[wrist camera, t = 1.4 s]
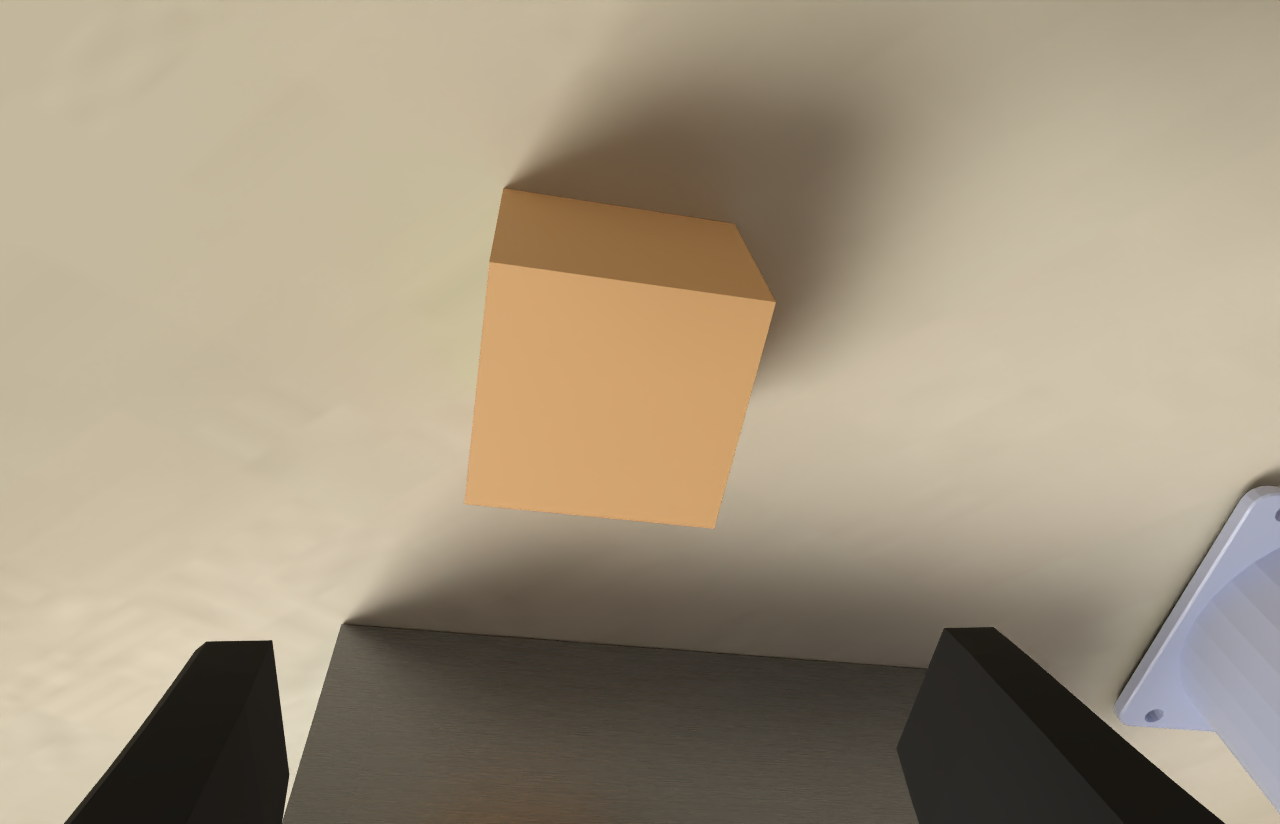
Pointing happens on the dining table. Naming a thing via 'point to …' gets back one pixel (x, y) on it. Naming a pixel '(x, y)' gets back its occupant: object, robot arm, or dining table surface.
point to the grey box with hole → (597, 735)
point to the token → (613, 361)
